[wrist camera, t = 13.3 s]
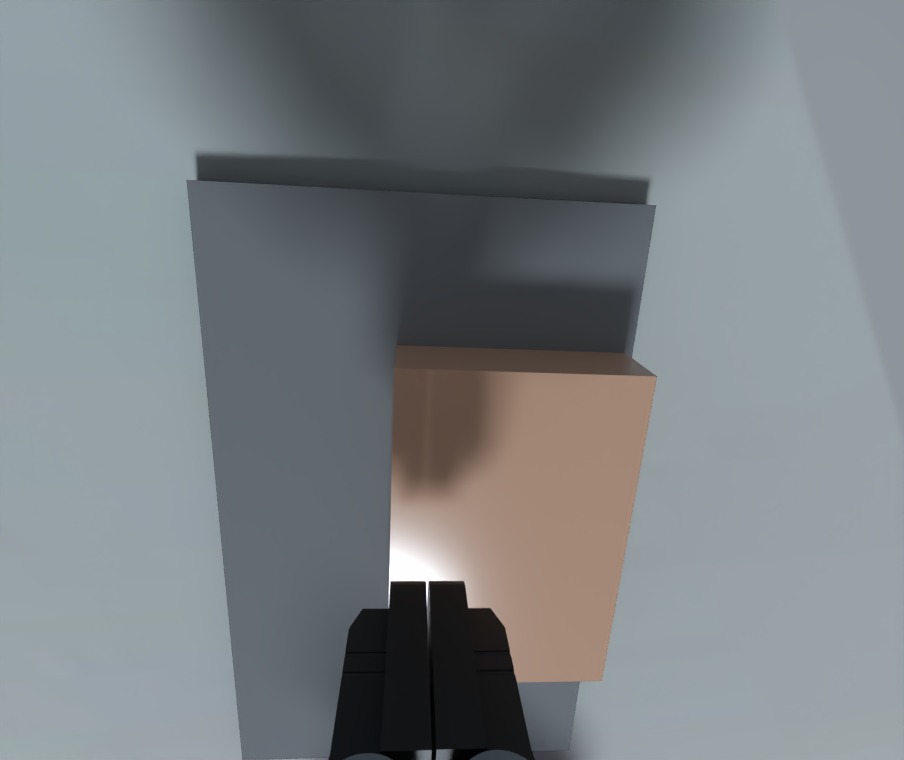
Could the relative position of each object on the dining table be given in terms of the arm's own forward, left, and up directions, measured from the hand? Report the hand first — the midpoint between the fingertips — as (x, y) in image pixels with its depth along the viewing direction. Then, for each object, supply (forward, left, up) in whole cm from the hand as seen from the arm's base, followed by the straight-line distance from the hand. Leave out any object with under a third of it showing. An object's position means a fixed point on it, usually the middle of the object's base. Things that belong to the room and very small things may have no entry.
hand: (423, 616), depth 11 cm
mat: (+1, 0, -5) cm, 5 cm away
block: (0, -1, -4) cm, 4 cm away
